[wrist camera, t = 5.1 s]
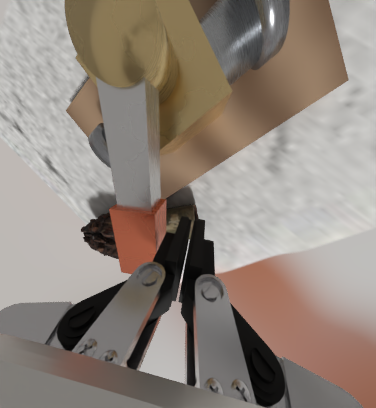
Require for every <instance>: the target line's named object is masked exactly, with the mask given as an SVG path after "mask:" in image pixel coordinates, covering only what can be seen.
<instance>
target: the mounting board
mask: <svg viewBox="0 0 376 408" xmlns="http://www.w3.org/2000/svg"><path fill="white" fill-rule="evenodd" d="M216 1H217V0H189V2H190V4H191V6H192V8H193V10H194V12H195V14H196V17H197V19H198V21H199V20H200V19H201V18H202V17H203V16H204V15H205V14H206V12H207V11H208V10H209V9H210V8H211V7H212V6H213V5H214V4H215V2H216ZM346 81H348V76H347V72H346V68H345V64H344V60H343V56H342V52H341V48H340V44H339V40H338V36H337V32H336V28H335V24H334V20H333V16H332V13H331V9H330V5H329V1H328V0H290V15H289V26H288V31H287V36H286V39H285V42H284V44H283V47H282V48H281V50H280V51H279V52H278V53H277V54H276V55H275V56H274V57H273V58H271V59H270V60H269V61H268V62H267V63H265V64H264V65H263V66H262V67H260V68H259V69H258V70H252V69H249V70H248V71H247V72H246V73H245V74H243V75H242V76H241V77H240V78H239V79H238V80H236V81H235V82H234V83H233V84H232V85H230V87H231V89H232V93H231V95H230V97H229V100H228V102H227V104H226V106H225V109H224V111H223V113H222V115H221V116H219V117H218V118H217V119H216V120H214V121H213V122H212V123H210V124H209V125H208V126H207V127H205V128H204V129H203V130H201V131H200V132H199V133H198V134H196V135H195V136H194V137H192V138H191V139H190V140H189V141H187V142H186V143H185V144H184V145H182V146H181V147H180V148H178V149H177V150H176V151H175V152H173V153H170V154H166V155H162V156H160V189H161V199H166V198H167V197H169V196H170V195H172V194H174V193H175V192H177V191H178V190H180V189H181V188H183V187H184V186H186V185H187V184H189V183H191V182H192V181H194V180H195V179H197V178H198V177H200V176H201V175H203V174H204V173H206V172H207V171H209V170H211V169H212V168H214V167H215V166H217V165H218V164H220V163H221V162H223V161H224V160H226V159H228V158H229V157H231V156H232V155H234V154H235V153H237V152H238V151H240V150H241V149H243V148H245V147H246V146H248V145H249V144H251V143H252V142H254V141H255V140H257V139H258V138H260V137H262V136H263V135H265V134H266V133H268V132H269V131H271V130H272V129H274V128H275V127H277V126H278V125H280V124H282V123H283V122H285V121H286V120H288V119H289V118H291V117H292V116H294V115H295V114H297V113H299V112H300V111H302V110H303V109H305V108H306V107H308V106H309V105H311V104H312V103H314V102H316V101H317V100H319V99H320V98H322V97H323V96H325V95H326V94H328V93H329V92H331V91H333V90H334V89H336V88H337V87H339V86H340V85H342V84H343V83H345V82H346ZM66 112H67V113H68V114H69V115H70V116H71V118H72V119H73V120H74V121H75V122H76V123H77V125H78V126H79V127H80V128H81V129H82V131H83V132H84V133H85V134H86V135H87V137H88V138H89V135H90V134H91V132H92V131H93V130H94V129H95V128H96V127H97V126H98V125H99V124H100V123H103V117H102V111H101V105H100V99H99V93H98V88H97V86H96V85H95V84H94V82H93V81H92V80H91V78H90V77H89V79H88V80H87V82H86V83H85V84H84V86H83V87H82V89H81V90H80V91H79V93H78V94H77V96H76V97H75V99H74V100H73V101H72V103H71V104H70V106H69V107H68V108H67V110H66Z"/></svg>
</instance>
